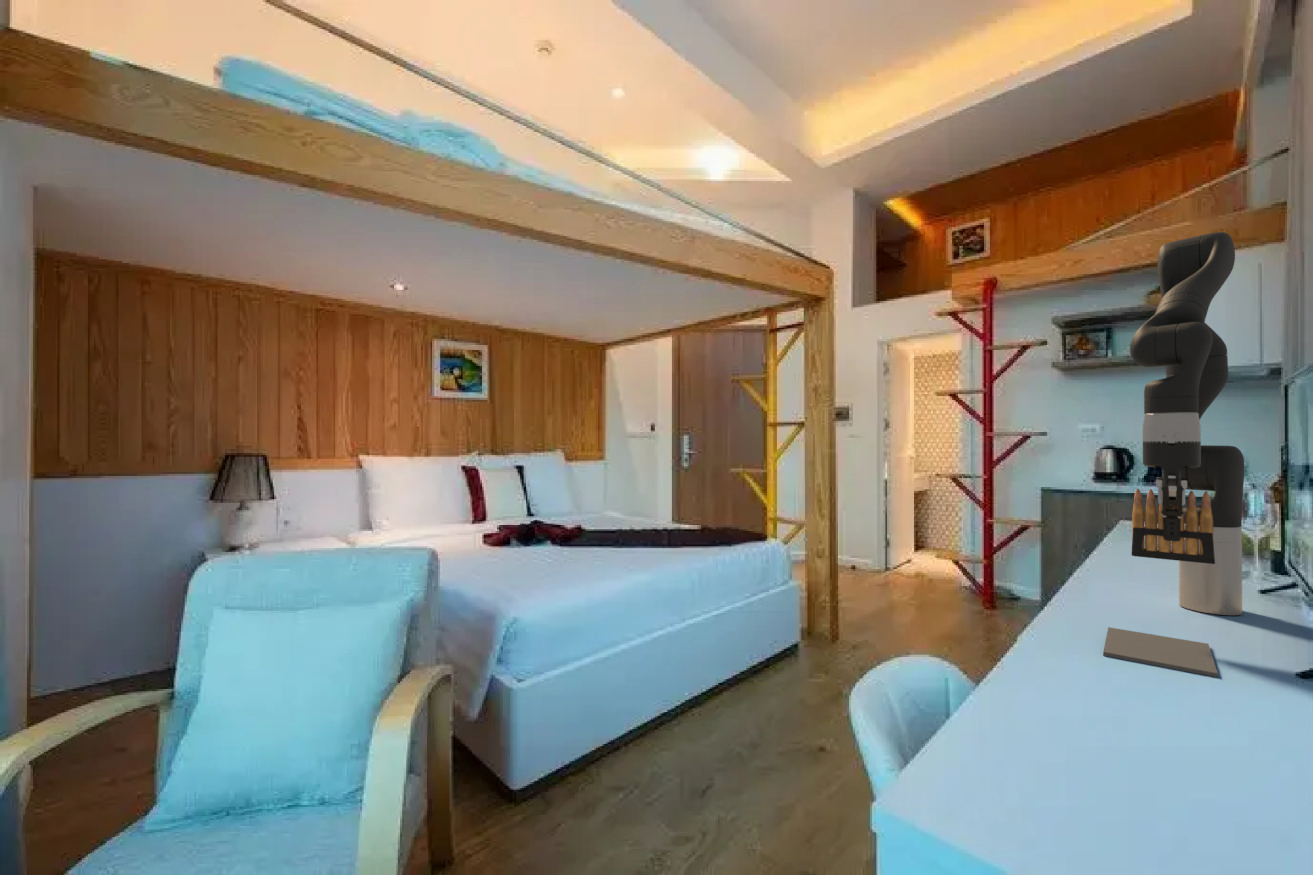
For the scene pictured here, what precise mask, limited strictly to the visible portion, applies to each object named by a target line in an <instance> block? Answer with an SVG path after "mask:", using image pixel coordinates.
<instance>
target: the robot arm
mask: <svg viewBox="0 0 1313 875" xmlns="http://www.w3.org/2000/svg"><path fill="white" fill-rule="evenodd" d="M1235 260H1236V251H1235V245H1234V241H1233V238H1232V237H1231V235H1230V234H1228V233H1226V232H1222V231H1218V232H1211V233H1210V232H1209V233H1205V234H1201V235H1196V236H1192V237H1188V238H1184V239H1179V240H1174V241H1170V242H1167V243H1164V244H1162V245H1161V247H1159V250H1158V253H1157V272H1158V280H1159V287H1160V288H1159V289H1160V296H1161V298H1160V301H1159V303H1158V305H1157V308H1156V310H1155V313H1154V315H1152V316H1151V317H1150V318H1149V319H1148V320H1147V321H1145V322H1144V323H1143V324H1142V325H1141V326H1140V327H1139V328H1138V329H1137V330H1136V331H1135V333H1134V335H1133V337H1132V339H1131V341H1130V345H1129V354H1130V357H1131V359H1132V360H1133V361H1134V362H1135V363H1136V364H1137V365H1139V366H1142V367H1146V368H1153V367H1154V368H1155V367H1165V375H1166V376H1165V377H1164V378H1160V379H1155V380H1152V381H1149V382H1147V383H1146V385H1145V386H1144V390H1143V396H1144V397H1143V403H1144V404H1143V407H1144V408H1143V422H1142V465H1143V466H1144V467H1149V468H1150V467H1151V468H1160V469H1161V471H1162V473H1161V477H1159V476H1156V477H1155V483H1156V486H1155V487H1157V502H1158V505H1160V504H1161V505H1162V511H1161V516H1162V518H1163V538H1164V539H1165V540H1167V541H1180V539H1181V521H1180V519H1181V517H1183V514H1184V530H1185V516H1186V512H1187V506H1186V507H1183V506H1185V504H1186V490H1190V491H1204V492H1205V491H1207V492H1215V493H1214V497H1213V498H1212V499H1210V501H1211V510H1212V516H1213V543H1214V556H1215V564H1208V563H1198V562H1188V561H1178V579H1179V582H1178V584H1179V586H1178V590H1179V591H1178V593H1179V595H1178V598H1179V600H1178V601H1179V602H1178V603H1179V606H1180V607H1182V608H1185V609H1188V610H1190V611H1191V610H1192V611H1196V612H1201V613H1205V614H1211V615H1222V616H1240V615H1242V614H1243V542H1242V540H1243V539H1242V538H1243V537H1242V536H1243V533H1242V532H1243V531H1242V528H1243V525H1242V524H1243V522H1242V518H1243V505H1244V504H1243V502H1244V501H1243V500H1244V497H1243V496H1244V482H1245V469H1246V468H1245V459H1244V455H1243V453H1242V451H1241V450H1240V448H1238V447H1237V446H1234V445H1213V444H1212V445H1210V444H1209V445H1201V444H1202V442H1201V441H1202V439H1201V436H1202V434H1201V432H1202V430H1201V421H1200V420H1201V418H1202V417H1203V415H1204V414H1205V413H1206V411H1207V410H1208V408H1209V407H1210V406H1211V404H1212V403H1213V402H1214V401H1215V400H1216V399H1217V397H1218V396H1219V395H1220V393H1221V392H1222V391H1223V389H1224V387H1225V386H1226V384H1227V382H1228V380H1229V361H1228V360H1229V359H1228V348H1227V344H1226V343H1225V341H1224V340H1223V339H1222V337H1221V336H1220V335H1219V334H1218V333H1217V332H1216V331H1215V330H1213V328H1211V326H1210V325H1208V324H1207V323H1206V318H1207V315H1208V312H1209V307H1210V305H1211V303H1212V301H1213V299H1214V298H1215V296H1216V295H1217V293H1218V292H1219V291H1221V288H1222V287H1223V286H1224V284H1225V283H1226V281H1227V280H1228V278H1229V277H1230V275H1231V273H1232V271H1233V269H1234V266H1235ZM1162 491H1163V498H1162ZM1167 505H1169V509H1166V506H1167ZM1173 505H1176V506H1177V509H1173ZM1196 506H1197V514H1198V524H1199V531H1200V514H1201V504H1198V505H1197V504H1196ZM1182 507H1183V512H1182ZM1165 518H1166V519H1165ZM1184 540H1185V538H1184ZM1199 554H1200V539H1199Z"/></svg>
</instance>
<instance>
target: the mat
mask: <svg viewBox="0 0 1313 875" xmlns="http://www.w3.org/2000/svg"><path fill="white" fill-rule="evenodd" d="M1102 652H1103V653H1102V654H1103V655H1102V656H1104V657H1107V658H1108V657H1109V658H1114V659H1120V660H1124V661H1130V662H1136V663H1140V664H1146V665H1150V666H1155V667H1160V668H1165V669H1172V670H1175V671H1176V670H1177V671H1181V672H1182V671H1183V672H1186V673H1187V672H1188V673H1191V674H1192V673H1193V674H1198V675H1203V676H1208V677H1214V678H1218V677H1219V676H1218V674H1219V673H1218V670H1217V667H1216V664H1215V661H1214V657H1213V654H1212V651H1211V647H1210V645H1209V643H1208V642H1207V643H1206V642H1201V641H1194V640H1189V639H1182V638H1175V637H1170V636H1166V635H1165V636H1164V635H1157V634H1152V633H1146V632H1141V631H1140V632H1139V631H1134V630H1128V629H1121V628H1115V627H1110V626H1109V627H1108V628H1107V632H1106V638H1105V642H1104V646H1103V651H1102Z"/></svg>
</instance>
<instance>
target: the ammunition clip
mask: <svg viewBox="0 0 1313 875" xmlns="http://www.w3.org/2000/svg"><path fill="white" fill-rule="evenodd" d="M1208 492H1209V491H1205V490H1204V493H1203V495H1202V497H1201V502H1200V505H1201V514H1200V531H1199V524H1198V514H1197V499H1196V495H1195V492H1194V490H1190V491H1189V493H1188V496H1187V501H1186V507H1187V512H1186V516H1185V530H1184V514H1183V517H1181V519H1180V521H1181V539H1180V541H1167V540H1165V539H1164V538H1163V518H1162V516H1161V511H1162V505H1161V504H1159V507H1158V508H1159V509H1158V512H1157V506H1156V497H1155V494H1154V491H1153V489H1152V488H1150V489H1149V490H1148V492H1147V496H1146V505H1145V511H1144V507H1143V497H1142V492H1141V490H1140V489H1139V488H1136V490H1135V491H1134V495H1133V496H1134V497H1133V508H1132V513H1131V519H1132V520H1131V526H1132V527H1131V533H1132V535H1131V536H1132V537H1131V539H1132V540H1131V556H1133V557H1137V558H1138V557H1139V558H1149V559H1158V560H1159V559H1160V560H1168V561H1169V560H1170V561H1177V562H1179V561H1188V562H1198V563H1208V564H1215V556H1214V543H1213V516H1212V510H1211V497H1210V495H1209V493H1208ZM1162 498H1163V491H1162ZM1172 506H1173V509H1177V506H1176V505H1172ZM1183 508H1184V507H1183V506H1182V512H1183ZM1166 509H1169V505H1167V506H1166ZM1165 519H1166V518H1165ZM1184 538H1185V540H1184ZM1199 539H1200V554H1199Z"/></svg>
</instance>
